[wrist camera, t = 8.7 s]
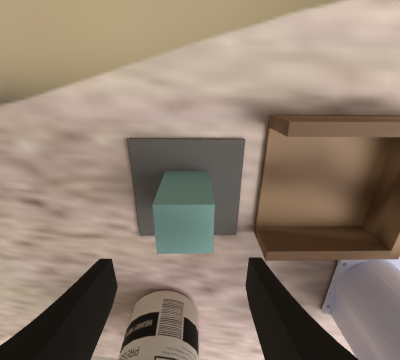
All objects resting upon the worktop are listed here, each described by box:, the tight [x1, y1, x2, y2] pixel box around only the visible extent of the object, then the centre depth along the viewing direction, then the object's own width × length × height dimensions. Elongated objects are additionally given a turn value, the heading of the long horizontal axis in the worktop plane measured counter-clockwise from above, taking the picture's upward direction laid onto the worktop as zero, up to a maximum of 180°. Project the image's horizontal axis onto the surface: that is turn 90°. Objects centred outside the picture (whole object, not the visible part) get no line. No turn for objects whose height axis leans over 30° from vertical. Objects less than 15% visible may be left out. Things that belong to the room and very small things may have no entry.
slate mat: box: [127, 138, 245, 235], centre depth 20 cm, size 10×10×1 cm
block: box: [152, 171, 215, 254], centre depth 17 cm, size 4×4×6 cm
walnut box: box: [254, 115, 400, 261], centre depth 18 cm, size 12×12×4 cm
